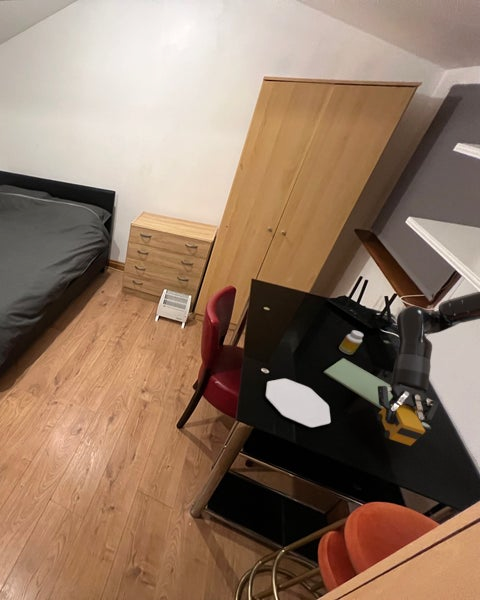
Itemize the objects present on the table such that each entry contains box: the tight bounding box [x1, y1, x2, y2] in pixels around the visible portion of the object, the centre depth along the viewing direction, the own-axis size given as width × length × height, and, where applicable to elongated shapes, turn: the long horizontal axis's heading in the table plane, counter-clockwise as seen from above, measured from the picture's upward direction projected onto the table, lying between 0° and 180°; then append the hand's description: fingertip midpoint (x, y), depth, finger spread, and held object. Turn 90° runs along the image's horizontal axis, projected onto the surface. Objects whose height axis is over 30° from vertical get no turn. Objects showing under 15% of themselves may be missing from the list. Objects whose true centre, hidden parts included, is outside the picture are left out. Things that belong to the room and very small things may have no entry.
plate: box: [265, 378, 332, 429], centre depth 112 cm, size 20×20×2 cm
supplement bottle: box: [338, 329, 364, 355], centre depth 137 cm, size 5×5×10 cm
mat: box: [323, 357, 393, 410], centre depth 123 cm, size 22×16×1 cm
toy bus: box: [376, 404, 426, 447], centre depth 95 cm, size 10×5×8 cm, turn 157°
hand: (402, 427), depth 94 cm, fingers closed on toy bus, 5 cm apart
